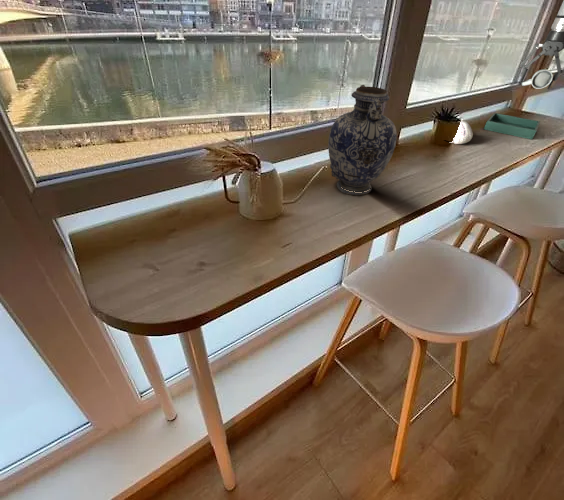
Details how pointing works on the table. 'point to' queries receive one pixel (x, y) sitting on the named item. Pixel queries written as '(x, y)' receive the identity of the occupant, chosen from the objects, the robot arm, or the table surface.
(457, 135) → the sea urchin shell
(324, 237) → the table surface
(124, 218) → the table surface
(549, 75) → the ceramic mug
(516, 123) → the tray
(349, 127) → the decorative vase
